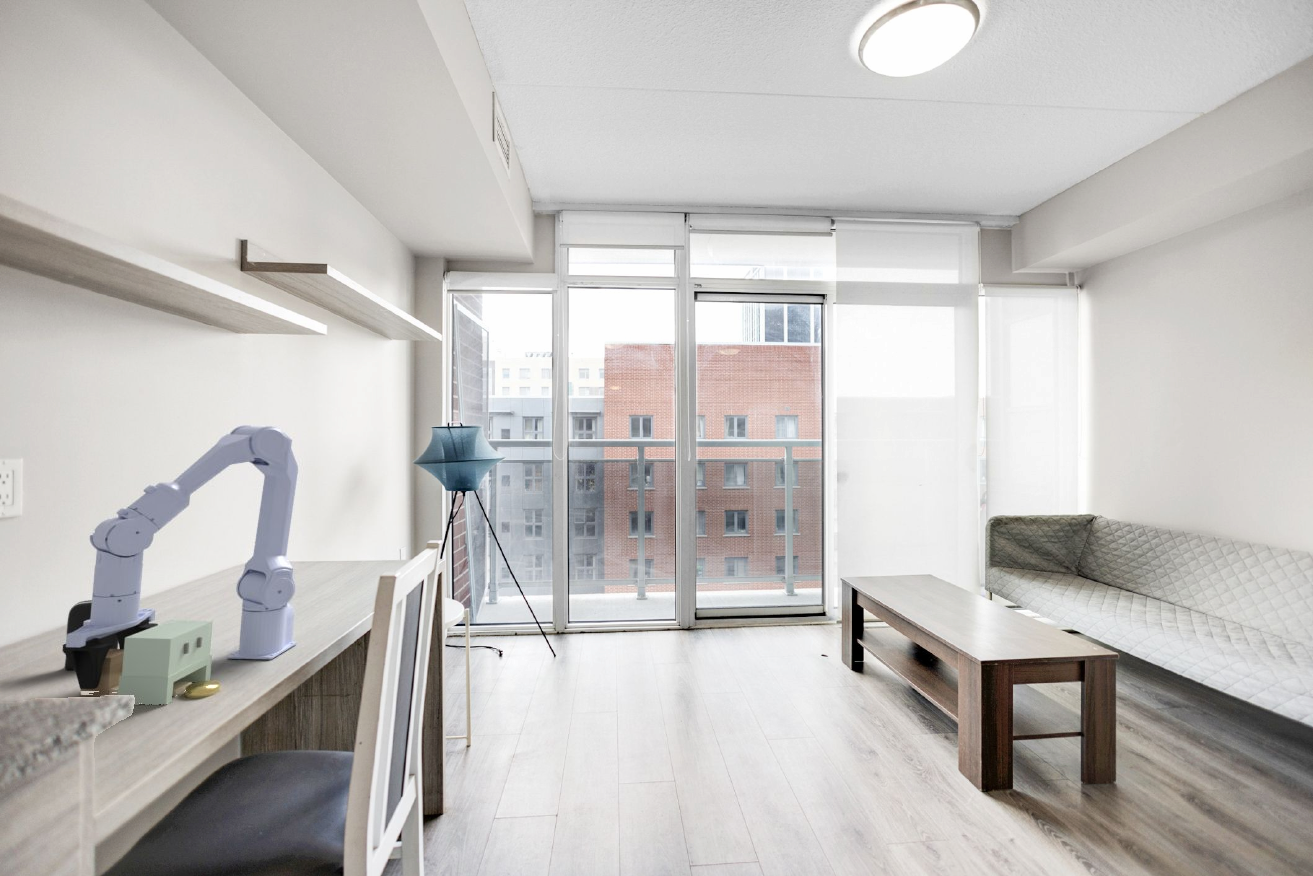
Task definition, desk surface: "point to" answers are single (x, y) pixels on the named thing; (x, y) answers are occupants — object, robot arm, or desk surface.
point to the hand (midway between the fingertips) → (109, 678)
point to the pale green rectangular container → (165, 660)
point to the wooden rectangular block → (114, 670)
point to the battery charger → (76, 621)
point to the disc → (202, 689)
